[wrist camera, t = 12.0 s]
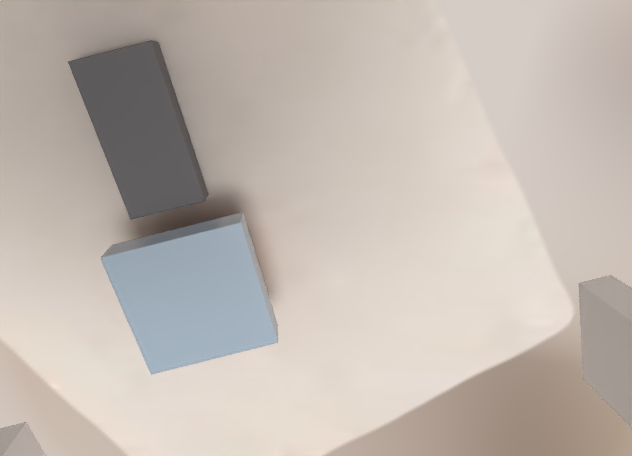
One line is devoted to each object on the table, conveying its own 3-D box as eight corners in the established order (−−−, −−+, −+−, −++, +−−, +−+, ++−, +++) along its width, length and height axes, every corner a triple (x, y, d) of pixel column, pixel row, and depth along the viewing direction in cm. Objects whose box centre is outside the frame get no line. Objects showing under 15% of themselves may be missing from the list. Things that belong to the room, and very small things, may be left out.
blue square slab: (112, 244, 34) (100, 258, 32) (243, 211, 34) (240, 222, 32) (158, 355, 38) (151, 374, 35) (277, 325, 38) (278, 342, 35)
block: (79, 61, 34) (68, 61, 32) (158, 42, 34) (151, 40, 32) (137, 212, 38) (130, 219, 36) (208, 194, 38) (204, 200, 36)
